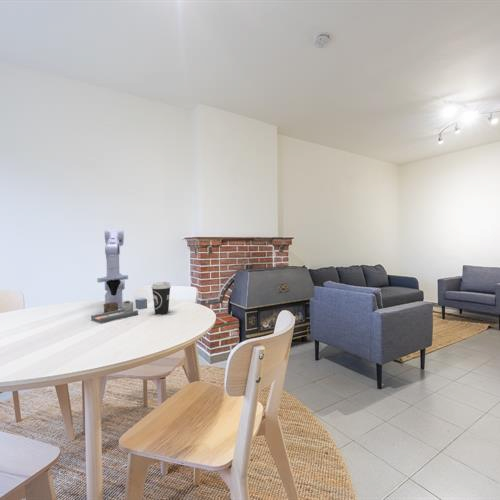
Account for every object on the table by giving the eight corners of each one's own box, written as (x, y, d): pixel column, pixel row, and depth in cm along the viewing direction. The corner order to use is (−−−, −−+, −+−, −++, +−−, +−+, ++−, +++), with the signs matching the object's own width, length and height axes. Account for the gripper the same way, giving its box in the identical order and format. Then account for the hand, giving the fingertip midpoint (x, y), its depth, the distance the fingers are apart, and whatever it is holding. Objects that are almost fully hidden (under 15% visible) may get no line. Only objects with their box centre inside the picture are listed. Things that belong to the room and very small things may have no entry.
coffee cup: (168, 315, 138) (167, 284, 138) (148, 315, 138) (148, 284, 138) (173, 310, 148) (173, 281, 147) (155, 310, 148) (155, 281, 147)
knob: (121, 311, 140) (121, 301, 139) (128, 310, 143) (128, 300, 143) (125, 313, 137) (125, 302, 137) (133, 311, 140) (133, 301, 140)
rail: (91, 320, 131) (91, 315, 131) (128, 312, 145) (128, 308, 145) (100, 323, 125) (100, 318, 125) (138, 314, 140) (137, 310, 140)
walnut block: (104, 313, 142) (103, 303, 142) (111, 311, 147) (111, 302, 146) (110, 314, 141) (110, 304, 141) (118, 312, 145) (117, 302, 145)
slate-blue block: (135, 308, 154) (135, 299, 154) (143, 306, 157) (143, 297, 157) (138, 309, 151) (138, 300, 150) (147, 308, 154) (147, 299, 153)
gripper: (102, 269, 133) (102, 298, 133) (131, 267, 144) (131, 293, 145) (95, 268, 137) (95, 296, 138) (123, 266, 149) (124, 292, 149)
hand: (113, 295), depth 141 cm, fingers closed
